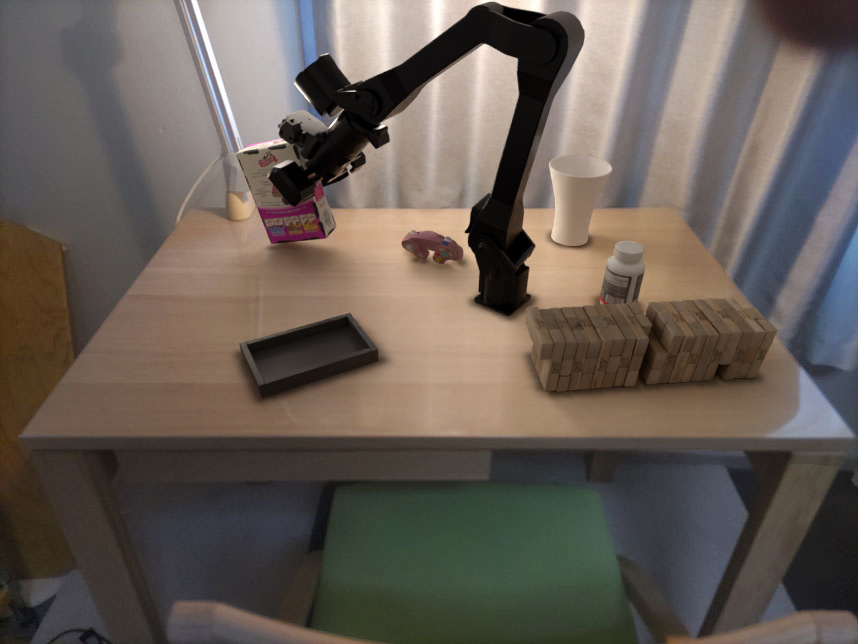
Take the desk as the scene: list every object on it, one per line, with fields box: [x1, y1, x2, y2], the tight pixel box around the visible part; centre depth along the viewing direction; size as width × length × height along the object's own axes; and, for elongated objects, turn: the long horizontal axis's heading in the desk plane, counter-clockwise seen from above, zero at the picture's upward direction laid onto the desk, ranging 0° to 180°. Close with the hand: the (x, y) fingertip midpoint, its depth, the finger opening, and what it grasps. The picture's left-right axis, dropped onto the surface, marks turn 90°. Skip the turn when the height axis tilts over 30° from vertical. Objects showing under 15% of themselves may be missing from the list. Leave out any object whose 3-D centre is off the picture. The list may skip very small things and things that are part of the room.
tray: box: [238, 312, 379, 399], centre depth 79 cm, size 16×10×2 cm, turn 118°
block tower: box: [524, 296, 778, 393], centre depth 76 cm, size 8×8×29 cm
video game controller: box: [401, 229, 464, 265], centre depth 100 cm, size 10×5×7 cm, turn 68°
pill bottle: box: [599, 240, 646, 305], centre depth 88 cm, size 5×5×10 cm
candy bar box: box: [235, 138, 337, 245], centre depth 100 cm, size 11×5×16 cm, turn 75°
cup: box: [548, 154, 614, 247], centre depth 105 cm, size 10×10×14 cm
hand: (295, 196), depth 101 cm, fingers closed on candy bar box, 5 cm apart
